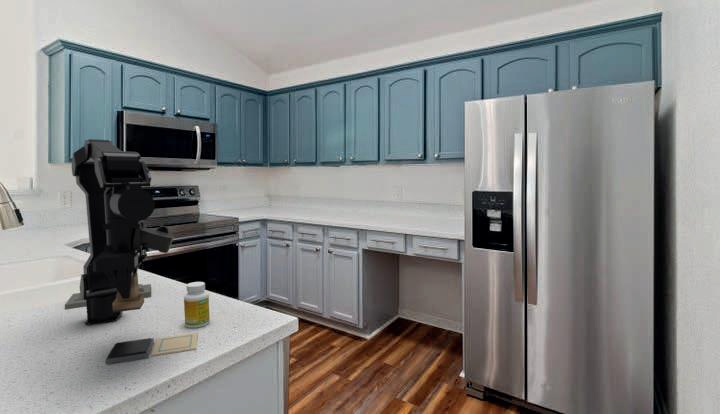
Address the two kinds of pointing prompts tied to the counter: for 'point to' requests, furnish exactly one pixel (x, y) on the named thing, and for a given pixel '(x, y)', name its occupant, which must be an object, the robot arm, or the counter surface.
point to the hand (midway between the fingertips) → (128, 295)
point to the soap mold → (76, 298)
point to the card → (175, 344)
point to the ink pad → (130, 351)
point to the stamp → (133, 301)
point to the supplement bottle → (196, 305)
